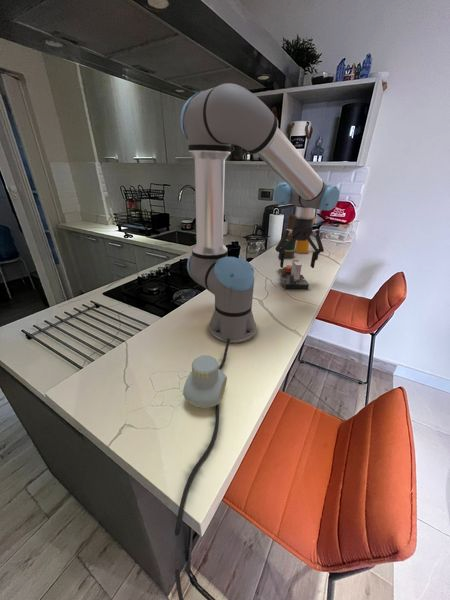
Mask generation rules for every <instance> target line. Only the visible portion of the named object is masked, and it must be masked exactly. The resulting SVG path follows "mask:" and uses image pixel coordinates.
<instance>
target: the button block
mask: <svg viewBox="0 0 450 600" xmlns="http://www.w3.org/2000/svg"><path fill="white" fill-rule="evenodd" d="M278 274H280V276H281V274H282V275H291V271H287V270H286V266H283V268H278Z"/></svg>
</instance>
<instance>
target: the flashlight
mask: <svg viewBox="0 0 450 600" xmlns="http://www.w3.org/2000/svg"><path fill="white" fill-rule="evenodd" d="M317 213H318V209H315V215H314V217H313V219H314V221H313V224H314V223H315V222H316V218H317ZM309 246H310V243H309V242H308V240H305V241H302V240H301V241H297V240H296V245H295V251H294V252H295V253H297V254H308V251H309Z"/></svg>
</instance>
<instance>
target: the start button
mask: <svg viewBox="0 0 450 600" xmlns="http://www.w3.org/2000/svg"><path fill="white" fill-rule="evenodd" d="M285 267H286V270H287V271H291V269H292V265H291V264H290V265H289V264H288V265H285Z"/></svg>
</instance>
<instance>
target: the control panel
mask: <svg viewBox="0 0 450 600" xmlns="http://www.w3.org/2000/svg"><path fill="white" fill-rule="evenodd" d="M280 281H281V283H282V285H283V287H284V290H300V291H301V290H303V291H306V290H307V291H308V290H309V286H310V284H309V283H308V281H307V279H306V278H305V276H304V275H303V274H300V278H299V282H293V280H292V279H291V277H290V275H282V274H281V275H280Z"/></svg>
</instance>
